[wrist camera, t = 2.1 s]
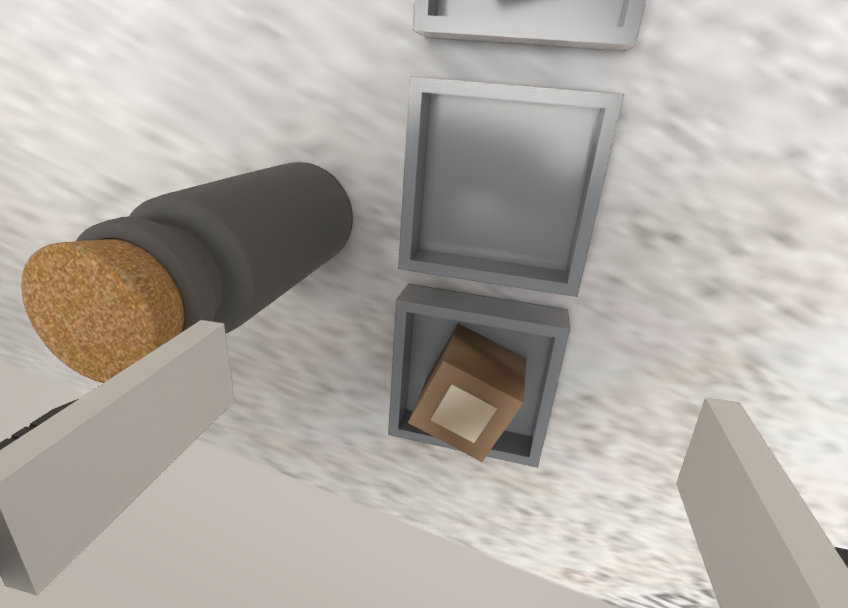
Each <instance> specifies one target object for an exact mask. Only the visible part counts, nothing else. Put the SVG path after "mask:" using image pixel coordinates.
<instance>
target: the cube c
mask: <svg viewBox="0 0 848 608" xmlns="http://www.w3.org/2000/svg"><path fill="white" fill-rule="evenodd" d="M525 374H526V358H524V357H522V356H520V355H518V354H516V353H514V352H512V351H510V350H509V349H507V348H505V347H503V346H501V345H499V344H497V343H495V342H493V341H491V340H489V339H488V338H486V337H484V336H482V335H480V334H478V333H476V332H474V331H472V330H470V329H468V328H467V327H465V326H463V325H461V324H459V323H458V324H457V325H456V327H455V329H454V331H453V332H452V334H451V336H450V338H449V340H448V341H447V343H446V345H445V347H444V349H443V350H442V352H441V354H440V356H439V357H438V359H437V361H436V363H435V365H434V366H433V368H432V370H431V372H430V373H429V375H428V377H427V379H426V381H425V383H424V386H423V388H422V391H421V393H420V395H419V398H418V400H417V403H416V405H415V407H414V410H413V412H412V415H411V417H410V419H409V422H408V423H409V424H411V425H413V426H415V427H417V428H419V429H421V430H423V431H424V432H426V433H428V434H430V435H432V436H434V437H436V438H438V439H440V440H441V441H443V442H445V443H447V444H449V445H451V446H453V447H455V448H457V449H458V450H460V451H462V452H464V453H466V454H468V455H470V456H472V457H474V458H475V459H477V460H479V461H481V462H482V461H483V460H484V458H485V457H486V455H487V454H488V453H489V451H490V450H491V448H492V447H493V446H494V444H495V443H496V441H497V440H498V439H499V437H500V436H501V434H502V433H503V431H504V430H505V429H506V427H507V426H508V424H509V423H510V422H511V420H512V419H513V417H514V416H515V415H516V413H517V412H518V410H519V409H520V407H521V406H522V405H523V403H524V390H525Z"/></svg>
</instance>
